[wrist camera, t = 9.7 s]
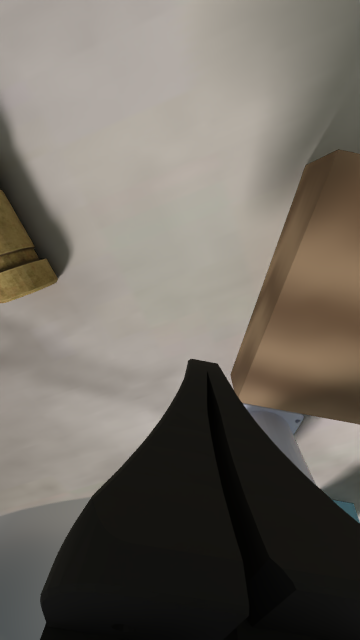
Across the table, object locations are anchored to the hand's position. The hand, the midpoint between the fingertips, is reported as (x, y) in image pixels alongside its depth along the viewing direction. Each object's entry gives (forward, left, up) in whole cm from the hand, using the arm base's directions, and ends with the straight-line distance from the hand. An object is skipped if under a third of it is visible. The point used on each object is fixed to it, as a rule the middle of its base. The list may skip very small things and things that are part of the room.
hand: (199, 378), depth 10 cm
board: (+2, -11, -10) cm, 15 cm away
